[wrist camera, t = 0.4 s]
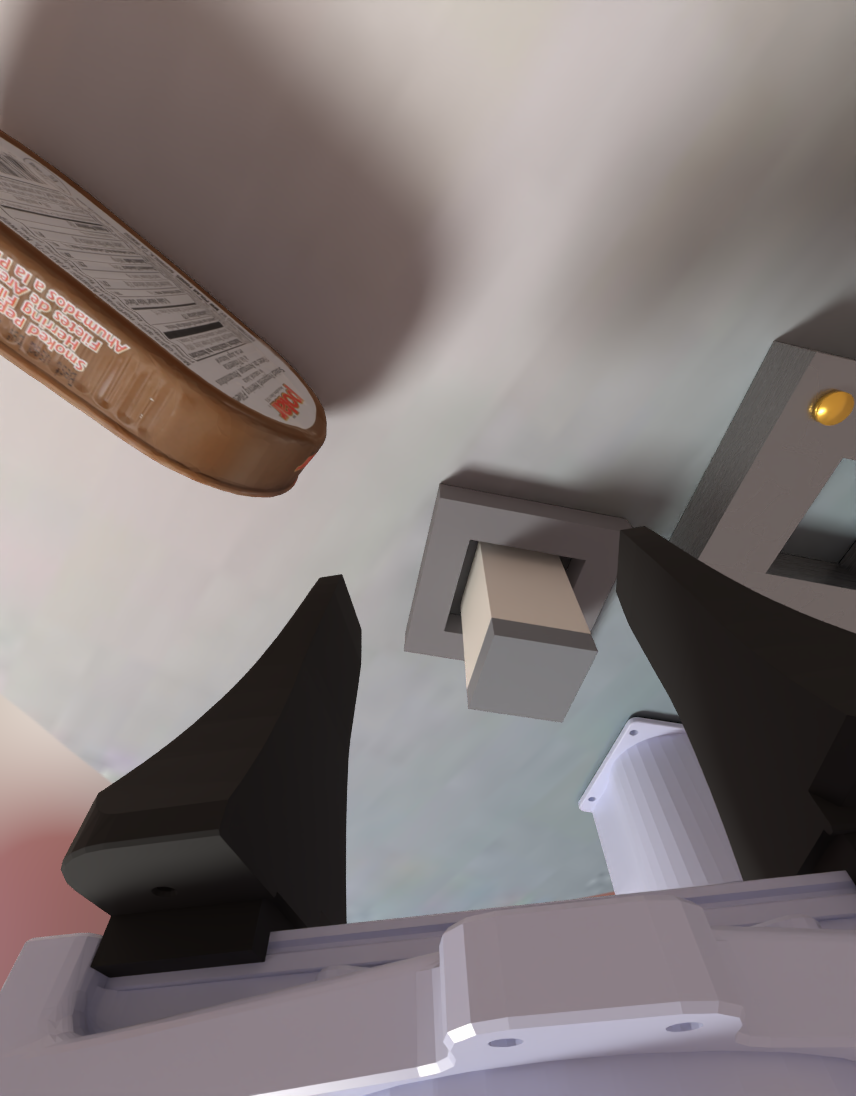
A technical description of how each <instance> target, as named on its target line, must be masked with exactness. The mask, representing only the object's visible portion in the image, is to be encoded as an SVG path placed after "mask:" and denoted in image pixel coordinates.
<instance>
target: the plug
mask: <svg viewBox="0 0 856 1096" xmlns="http://www.w3.org/2000/svg"><path fill="white" fill-rule="evenodd" d="M460 604H461V618H462V631H463V645H464V658H465V671H466V685H467V698H468V709H474V710H480V711H487V712H494V713H501V714H508V715H514V716H521V717H528V718H535V719H542V720H548V721H555V722H563V720H564V718H565V716H566V714H567V712H568V710H569V708H570V706H571V704H572V702H573V700H574V698H575V696H576V695H577V693H578V691H579V689H580V687H581V685H582V683H583V681H584V679H585V677H586V675H587V673H588V671H589V669H590V667H591V665H592V663H593V661H594V659H595V657H596V655H597V653H598V650H597V648H596V645H595V643H594V640H593V638H592V636H591V633H590V631H589V628H588V626H587V623H586V621H585V618H584V616H583V614H582V611H581V609H580V606H579V604H578V601H577V599H576V597H575V594H574V592H573V589H572V587H571V584H570V582H569V579H568V577H567V575H566V572H565V570H564V567H563V565H562V562H561V560H560V557H559V555H554V554H548V553H542V552H537V551H531V550H526V549H520V548H515V547H509V546H504V545H498V544H493V543H487V542H481V541H479V542H478V545H477V549H476V552H475V555H474V559H473V562H472V566H471V569H470V573H469V576H468V579H467V583H466V586H465V590H464V593H463V596H462V600H461V603H460Z"/></svg>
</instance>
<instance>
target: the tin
mask: <svg viewBox="0 0 856 1096" xmlns="http://www.w3.org/2000/svg"><path fill="white" fill-rule="evenodd" d="M0 355H2V356H3V357H4V358H6V359H7V360H9V361H10V362H12V363H13V364H14V365H16V366H17V367H19V368H20V369H21V370H23V371H24V372H26V373H27V374H28V375H30V376H31V377H33V378H35V379H36V380H38V381H39V382H41V383H42V384H44V385H45V386H46V387H48V388H49V389H51V390H52V391H53V392H55V393H56V394H57V395H59V396H60V397H62V398H63V399H64V400H66V401H67V402H69V403H70V404H72V405H73V406H75V407H76V408H78V409H79V410H81V411H82V412H84V413H85V414H87V415H88V416H89V417H91V418H92V419H94V420H95V421H97V422H98V423H99V424H101V425H102V426H104V427H105V428H106V429H108V430H109V431H111V432H112V433H113V434H115V435H116V436H118V437H119V438H120V439H122V440H123V441H125V442H126V443H128V444H130V445H131V446H133V447H134V448H136V449H137V450H139V451H140V452H142V453H143V454H145V455H147V456H148V457H150V458H151V459H153V460H155V461H156V462H158V463H160V464H162V465H163V466H165V467H167V468H169V469H171V470H174V471H176V472H178V473H180V474H182V475H184V476H186V477H188V478H190V479H192V480H195V481H197V482H200V483H202V484H205V485H208V486H211V487H214V488H217V489H220V490H222V491H227V492H231V493H234V494H237V495H243V496H250V497H274V496H277V495H281V494H283V493H286V492H287V491H289V490H290V489H291V488H292V487H293V486H294V485H295V483H296V481H297V478H298V475H299V474H300V473H301V471H302V470H303V469H304V467H305V466H306V465H307V464H308V463H309V461H310V460H311V459H312V458H313V457H314V455H315V454H316V453H317V452H318V450H319V449H320V448H321V446H322V445H323V443H324V441H325V438H326V426H327V423H326V416H325V411H324V409H323V407H322V405H321V403H320V401H319V400H318V398H317V397H316V395H315V394H314V392H313V391H312V390H311V388H310V387H309V386H308V385H307V383H306V382H305V381H304V380H303V378H302V377H301V376H300V375H299V374H298V373H297V372H296V371H295V370H294V369H293V368H292V367H291V366H290V365H289V364H288V363H287V362H286V361H285V360H284V359H283V358H282V357H281V356H280V355H279V354H278V353H277V352H276V351H275V350H274V349H272V348H271V347H270V346H269V345H268V344H267V343H266V342H264V341H263V340H262V339H261V338H260V337H259V336H257V335H256V334H255V333H254V332H253V331H252V330H250V329H249V328H248V327H247V326H246V325H245V324H243V323H242V322H241V321H240V320H239V319H238V318H236V317H235V316H234V315H233V314H232V313H231V312H229V311H228V310H227V309H226V308H225V307H224V306H222V305H221V304H220V303H219V302H218V301H217V300H215V299H214V298H213V297H212V296H211V295H210V294H208V293H207V292H206V291H205V290H204V289H203V288H201V287H200V286H199V285H198V284H197V283H196V282H194V281H193V280H192V279H191V278H190V277H189V276H187V275H186V274H185V273H184V272H183V271H181V270H180V269H179V268H178V267H177V266H175V265H174V264H173V263H172V262H171V261H169V260H168V259H167V258H166V257H165V256H164V255H162V254H161V253H160V252H159V251H158V250H156V249H155V248H154V247H153V246H152V245H150V244H149V243H148V242H147V241H146V240H144V239H143V238H142V237H141V236H140V235H138V234H137V233H136V232H135V231H134V230H132V229H131V228H130V227H129V226H128V225H126V224H125V223H124V222H123V221H122V220H120V219H119V218H118V217H117V216H115V215H114V214H113V213H112V212H111V211H109V210H108V209H107V208H106V207H105V206H103V205H102V204H101V203H100V202H99V201H97V200H96V199H95V198H94V197H93V196H91V195H90V194H89V193H87V192H86V191H85V190H84V189H82V188H81V187H80V186H78V185H77V184H76V183H74V182H73V181H72V180H70V179H69V178H68V177H67V176H65V175H64V174H63V173H61V172H60V171H59V170H57V169H56V168H55V167H53V166H52V165H50V164H49V163H48V162H46V161H45V160H43V159H42V158H41V157H39V156H38V155H37V154H35V153H34V152H32V151H31V150H30V149H28V148H27V147H25V146H24V145H22V144H21V143H19V142H18V141H16V140H15V139H13V138H12V137H10V136H9V135H7V134H6V133H4V132H3V131H1V130H0Z"/></svg>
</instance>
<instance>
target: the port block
mask: <svg viewBox="0 0 856 1096" xmlns="http://www.w3.org/2000/svg"><path fill="white" fill-rule="evenodd" d="M842 458H847V459H852V460H856V360H854V359H850V358H846V357H841V356H837V355H833V354H828V353H824V352H820V351H815V350H811V349H807V348H802V347H798V346H794V345H789V344H785V343H781V342H777V341H774V342H773V344H772V346H771V348H770V349H769V351H768V353H767V355H766V357H765V359H764V361H763V363H762V365H761V367H760V368H759V370H758V372H757V374H756V376H755V378H754V380H753V382H752V384H751V386H750V388H749V389H748V391H747V393H746V395H745V397H744V399H743V401H742V403H741V405H740V407H739V409H738V410H737V412H736V414H735V416H734V418H733V420H732V422H731V424H730V426H729V428H728V429H727V431H726V433H725V435H724V437H723V439H722V441H721V443H720V445H719V447H718V449H717V450H716V452H715V454H714V456H713V458H712V460H711V462H710V464H709V466H708V468H707V470H706V471H705V473H704V475H703V477H702V479H701V481H700V483H699V485H698V487H697V489H696V490H695V492H694V494H693V496H692V498H691V500H690V502H689V504H688V506H687V508H686V510H685V511H684V513H683V515H682V517H681V519H680V521H679V523H678V525H677V527H676V529H675V531H674V532H673V534H672V536H671V538H670V540H669V542H671V543H672V544H674V545H676V546H677V547H679V548H680V549H682V550H683V551H685V552H687V553H688V554H690V555H691V556H693V557H695V558H696V559H698V560H700V561H701V562H703V563H705V564H706V565H708V566H710V567H711V568H713V569H715V570H716V571H718V572H720V573H722V574H724V575H725V576H727V577H729V578H731V579H733V580H734V581H736V582H738V583H740V584H742V585H744V586H746V587H748V588H750V589H751V590H753V591H755V592H757V593H759V594H761V595H763V596H766V597H768V598H770V599H772V600H774V601H776V602H779V603H781V604H783V605H785V606H788V607H790V608H792V609H794V610H796V611H799V612H801V613H803V614H806V615H808V616H811V617H813V618H816V619H818V620H821V621H824V622H826V623H829V624H832V625H834V626H837V627H840V628H843V629H845V630H848V631H851V632H853V633H856V541H855V543H854V544H853V545H852V547H851V548H850V549H849V551H848V552H847V553H846V555H845V556H844V557H843V559H842V560H841V561H840V563H839V564H835V563H830V562H825V561H820V560H814V559H809V558H804V557H798V556H793V555H788V554H782V553H779V552H780V551H781V550H782V548H783V547H784V545H785V544H786V542H787V541H788V539H789V538H790V536H791V535H792V533H793V532H794V530H795V529H796V527H797V526H798V524H799V523H800V521H801V520H802V518H803V517H804V515H805V514H806V512H807V511H808V509H809V508H810V506H811V505H812V503H813V502H814V500H815V499H816V497H817V496H818V494H819V493H820V491H821V490H822V488H823V487H824V485H825V484H826V482H827V481H828V479H829V478H830V476H831V475H832V473H833V472H834V470H835V469H836V467H837V466H838V464H839V463H840V461H841V460H842Z"/></svg>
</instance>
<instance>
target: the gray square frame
mask: <svg viewBox="0 0 856 1096" xmlns="http://www.w3.org/2000/svg"><path fill="white" fill-rule="evenodd" d="M630 528H632V527H631V525H630V524H629V522H628V521H627V520H626V519H623V518H618V517H613V516H608V515H602V514H597V513H592V512H586V511H581V510H576V509H571V508H565V507H560V506H555V505H550V504H544V503H539V502H534V501H529V500H523V499H518V498H513V497H507V496H502V495H497V494H492V493H486V492H481V491H476V490H471V489H465V488H460V487H455V486H449V485H444V484H440V485H439V489H438V493H437V498H436V502H435V506H434V511H433V515H432V519H431V524H430V528H429V532H428V537H427V541H426V546H425V550H424V554H423V559H422V563H421V567H420V572H419V576H418V580H417V585H416V589H415V593H414V598H413V602H412V606H411V611H410V615H409V620H408V624H407V628H406V633H405V646H404V651H406V652H412V653H419V654H425V655H431V656H438V657H444V658H450V659H457V660H463V661H465V658H464V645H463V631H462V618H461V616H460V615H454V614H449V612H450V608H451V605H452V601H453V598H454V594H455V590H456V587H457V583H458V580H459V576H460V573H461V569H462V566H463V562H464V559H465V555H466V551H467V548H468V544H469V541H470V540H476V541H481V542H487V543H493V544H498V545H504V546H509V547H515V548H520V549H526V550H531V551H537V552H542V553H548V554H554V555H559V556H565V557H570V558H572V559H571V562H570V564H569V566H568V569H567V571H566V575H567V577H568V579H569V582H570V584H571V587H572V589H573V592H574V594H575V597H576V599H577V601H578V604H579V606H580V609H581V611H582V614H583V616H584V618H585V621H586V623H587V626H588V628H589V631H590V632H591V630H592V628H593V625H594V623H595V621H596V619H597V617H598V615H599V613H600V611H601V609H602V607H603V605H604V603H605V601H606V599H607V596H608V594H609V592H610V590H611V588H612V586H613V584H614V582H615V580H616V578H617V568H618V553H619V537H620V530H624V529H630Z"/></svg>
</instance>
